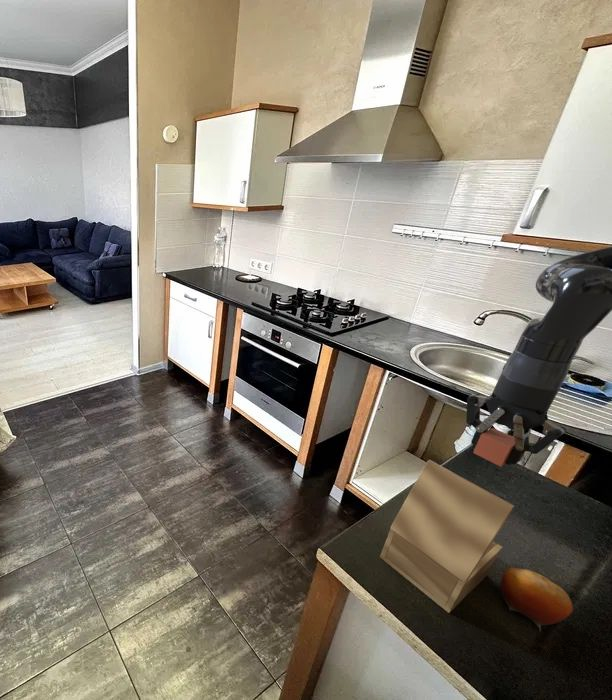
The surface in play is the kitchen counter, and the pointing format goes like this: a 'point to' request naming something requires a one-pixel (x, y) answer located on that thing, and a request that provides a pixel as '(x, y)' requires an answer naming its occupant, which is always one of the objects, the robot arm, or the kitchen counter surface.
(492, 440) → the block
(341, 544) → the kitchen counter surface
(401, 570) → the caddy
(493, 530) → the lid
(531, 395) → the robot arm
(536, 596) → the fruit
